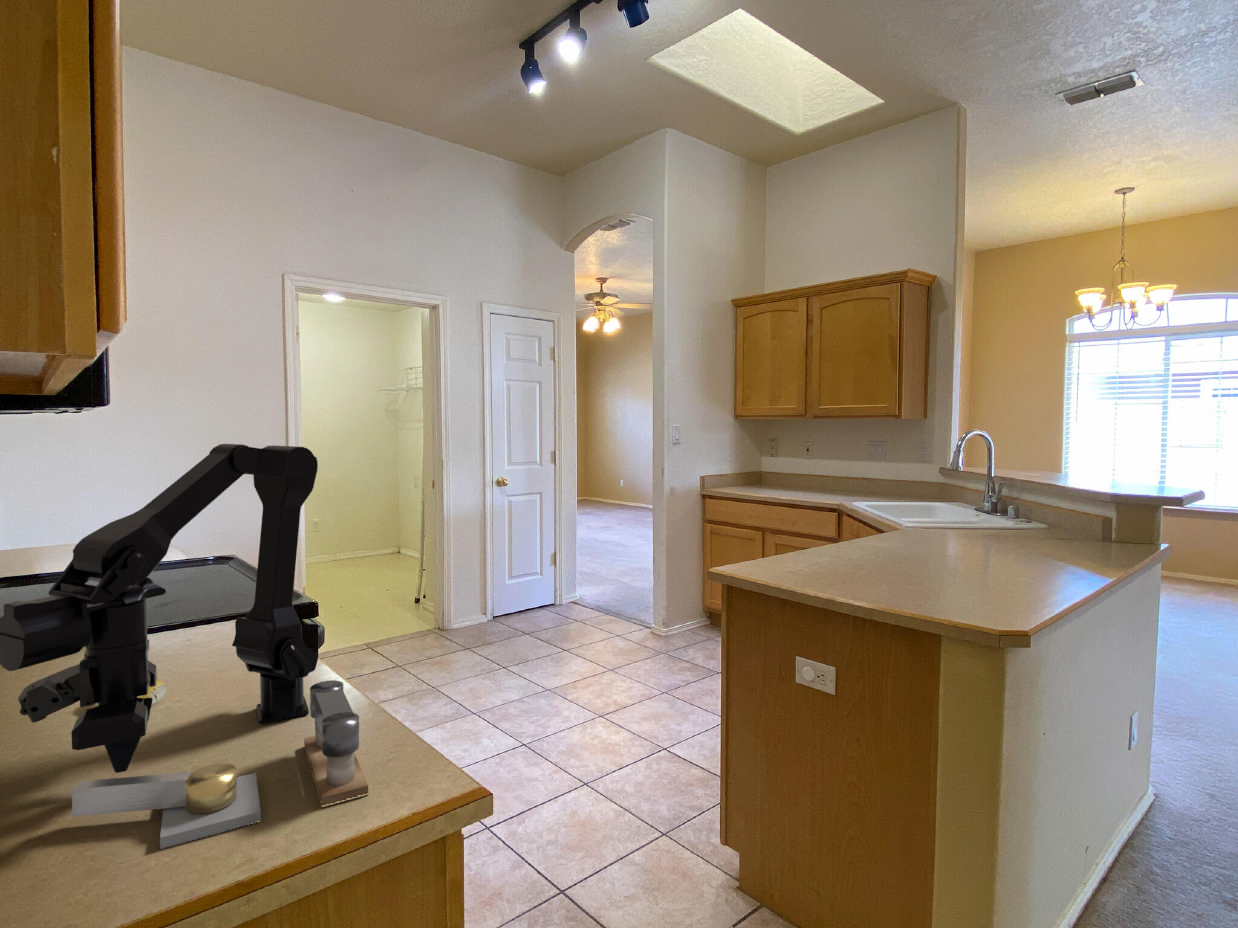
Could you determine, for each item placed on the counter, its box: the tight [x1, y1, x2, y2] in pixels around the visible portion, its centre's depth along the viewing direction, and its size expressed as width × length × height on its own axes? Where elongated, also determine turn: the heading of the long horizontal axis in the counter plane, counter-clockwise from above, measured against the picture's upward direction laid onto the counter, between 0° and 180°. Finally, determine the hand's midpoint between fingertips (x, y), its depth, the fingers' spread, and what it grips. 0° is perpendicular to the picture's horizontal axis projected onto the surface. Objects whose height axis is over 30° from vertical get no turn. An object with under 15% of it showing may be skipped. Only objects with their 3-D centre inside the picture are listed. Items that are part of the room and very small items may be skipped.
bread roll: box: [91, 678, 167, 709], centre depth 100 cm, size 8×9×4 cm
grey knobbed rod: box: [309, 679, 360, 757], centre depth 82 cm, size 15×4×4 cm, turn 32°
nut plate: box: [159, 772, 262, 850], centre depth 73 cm, size 9×9×1 cm
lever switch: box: [70, 762, 238, 818], centre depth 72 cm, size 15×5×3 cm, turn 102°
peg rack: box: [303, 719, 369, 806], centre depth 82 cm, size 16×5×5 cm, turn 32°
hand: (121, 770), depth 77 cm, fingers closed
